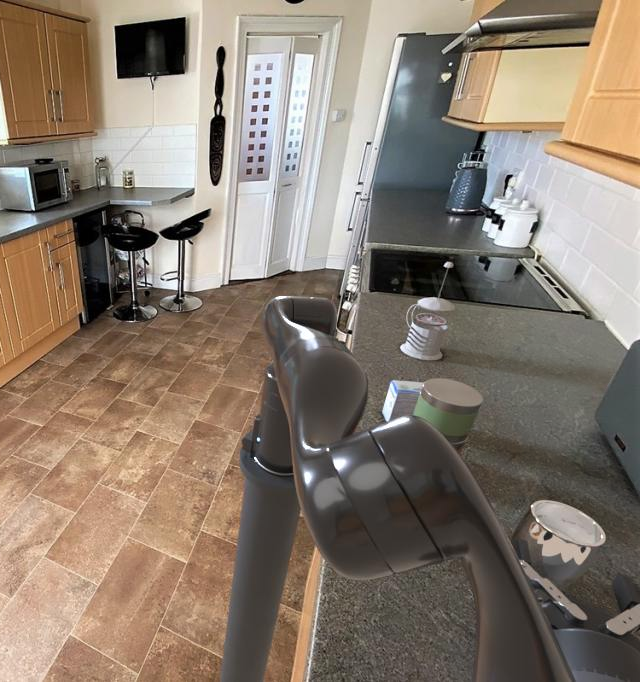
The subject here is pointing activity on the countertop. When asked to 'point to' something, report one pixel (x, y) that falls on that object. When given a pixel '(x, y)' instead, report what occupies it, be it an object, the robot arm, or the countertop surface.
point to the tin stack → (449, 408)
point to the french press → (426, 346)
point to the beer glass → (559, 541)
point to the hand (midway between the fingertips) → (567, 560)
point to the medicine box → (401, 399)
